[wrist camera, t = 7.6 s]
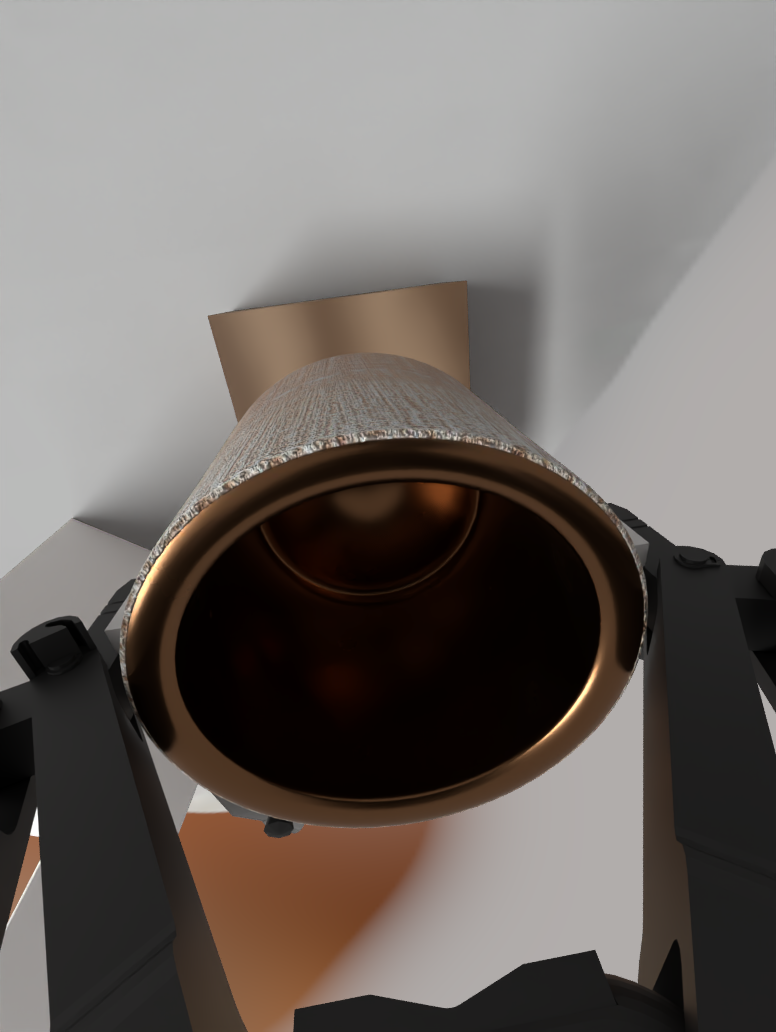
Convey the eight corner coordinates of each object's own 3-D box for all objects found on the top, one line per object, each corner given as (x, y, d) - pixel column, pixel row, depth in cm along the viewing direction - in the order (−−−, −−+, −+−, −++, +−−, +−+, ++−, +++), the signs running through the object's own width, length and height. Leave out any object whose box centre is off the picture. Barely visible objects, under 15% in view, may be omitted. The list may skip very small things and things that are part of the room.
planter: (179, 385, 15) (-28, 508, 6) (491, 318, 15) (693, 354, 7) (276, 624, 20) (231, 871, 11) (508, 574, 20) (634, 781, 12)
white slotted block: (72, 517, 34) (-424, 943, 12) (258, 593, 39) (154, 993, 17) (9, 678, 40) (-389, 1151, 18) (175, 726, 45) (22, 1142, 23)
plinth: (442, 282, 29) (466, 280, 24) (453, 476, 36) (473, 509, 30) (231, 311, 28) (207, 315, 23) (281, 503, 35) (271, 540, 30)
